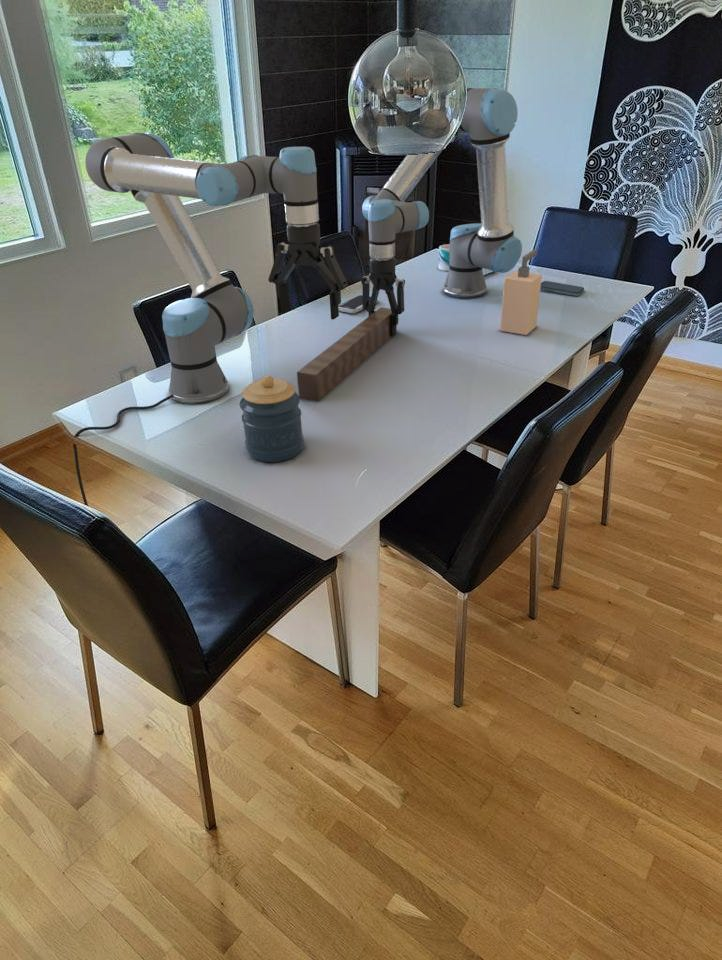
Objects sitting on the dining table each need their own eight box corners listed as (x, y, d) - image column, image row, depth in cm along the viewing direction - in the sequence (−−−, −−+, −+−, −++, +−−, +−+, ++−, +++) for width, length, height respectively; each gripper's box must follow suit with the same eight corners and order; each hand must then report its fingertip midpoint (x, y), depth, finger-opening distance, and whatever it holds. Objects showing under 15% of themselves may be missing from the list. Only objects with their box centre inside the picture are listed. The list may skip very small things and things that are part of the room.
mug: (435, 269, 266) (435, 247, 261) (448, 261, 274) (449, 240, 270) (453, 271, 262) (454, 249, 258) (466, 264, 270) (467, 242, 266)
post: (317, 401, 170) (315, 375, 166) (299, 398, 172) (296, 372, 169) (396, 331, 210) (396, 309, 206) (380, 329, 212) (380, 307, 208)
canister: (251, 467, 144) (240, 393, 134) (242, 439, 155) (232, 368, 145) (310, 457, 147) (303, 383, 137) (297, 430, 157) (291, 360, 148)
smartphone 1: (378, 298, 234) (353, 310, 224) (378, 301, 235) (353, 314, 225) (360, 294, 238) (335, 306, 228) (360, 298, 239) (335, 310, 228)
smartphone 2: (578, 293, 231) (536, 285, 238) (577, 297, 232) (536, 290, 239) (585, 287, 236) (544, 280, 243) (584, 291, 237) (543, 284, 244)
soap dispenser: (526, 335, 203) (534, 261, 191) (499, 330, 207) (505, 258, 195) (541, 322, 212) (549, 251, 200) (515, 318, 216) (521, 248, 204)
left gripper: (359, 223, 150) (362, 315, 161) (264, 216, 159) (274, 304, 171) (345, 230, 144) (349, 325, 156) (247, 223, 153) (258, 313, 165)
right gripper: (416, 256, 194) (415, 333, 207) (359, 251, 201) (361, 326, 214) (407, 263, 189) (406, 341, 201) (348, 258, 196) (351, 334, 208)
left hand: (310, 314), depth 163 cm, fingers open, 13 cm apart
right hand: (383, 333), depth 208 cm, fingers closed on post, 5 cm apart
